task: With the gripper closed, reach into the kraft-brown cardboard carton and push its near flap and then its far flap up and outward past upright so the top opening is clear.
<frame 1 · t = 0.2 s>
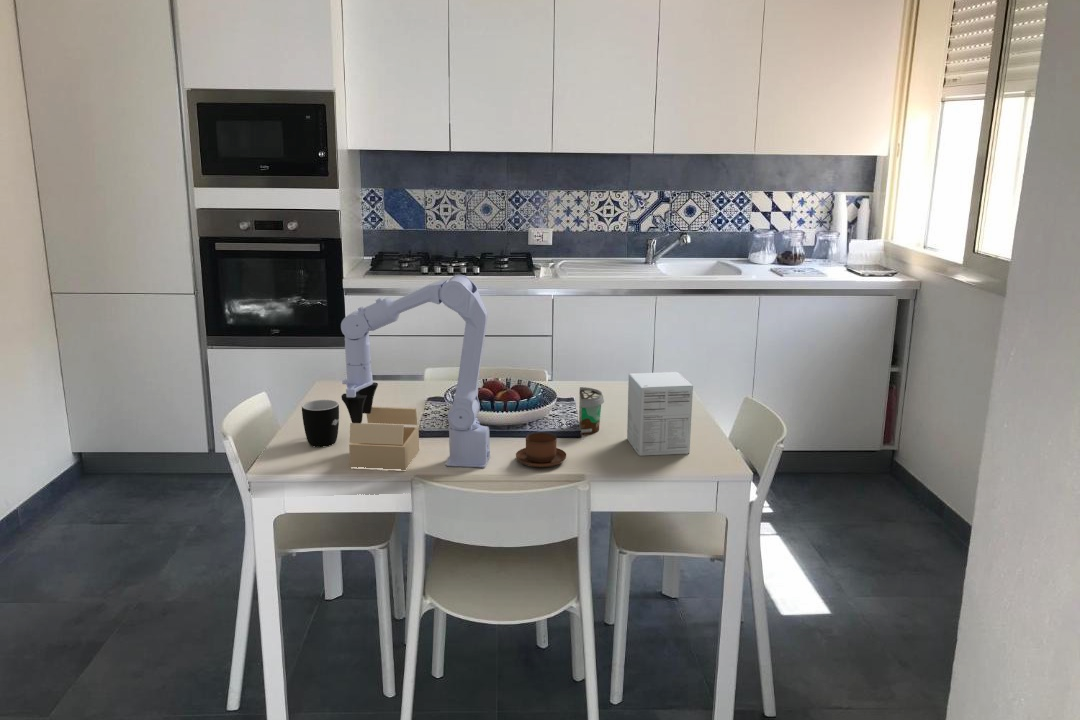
hand: (361, 418, 214), 10 cm above the table, tool pointing down, fingers open, 7 cm apart
mug: (323, 442, 228), on the table
near flap: (376, 433, 207), point 9 cm above the table, hinge at 75.0°
far flap: (391, 415, 220), point 9 cm above the table, hinge at 75.0°
food container: (591, 430, 238), on the table
supplement box: (657, 447, 226), on the table
cup and saucer: (541, 462, 215), on the table
carton: (385, 459, 215), on the table
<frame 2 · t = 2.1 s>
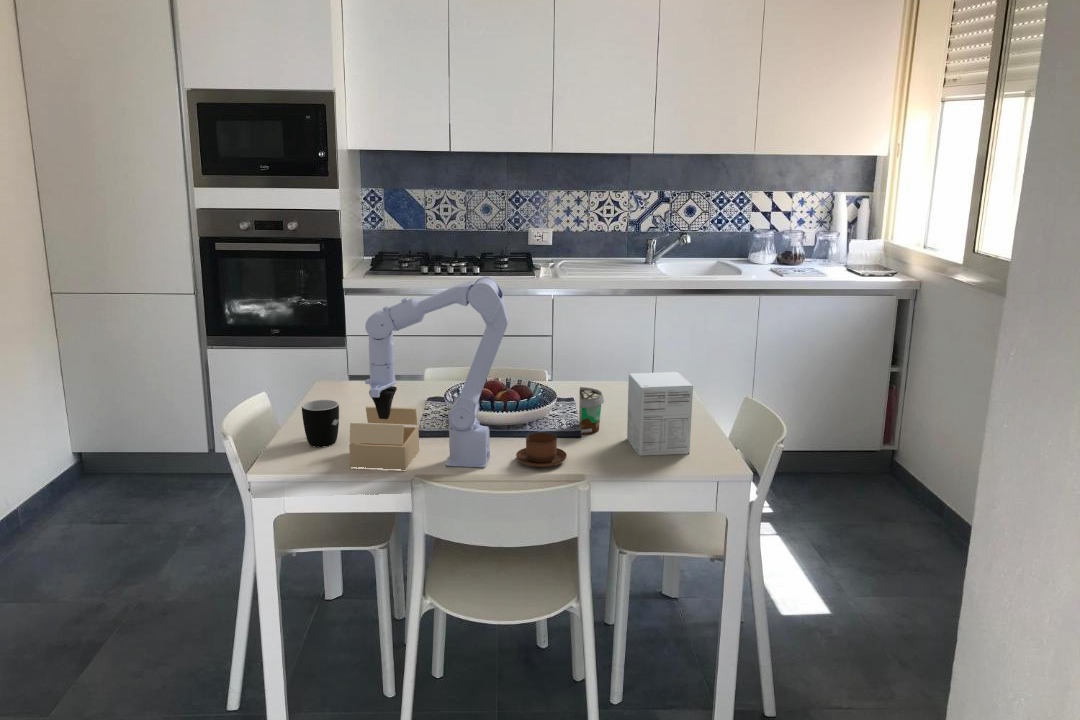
hand: (384, 418, 213), 10 cm above the table, tool pointing down, fingers closed
nothing on the table moved.
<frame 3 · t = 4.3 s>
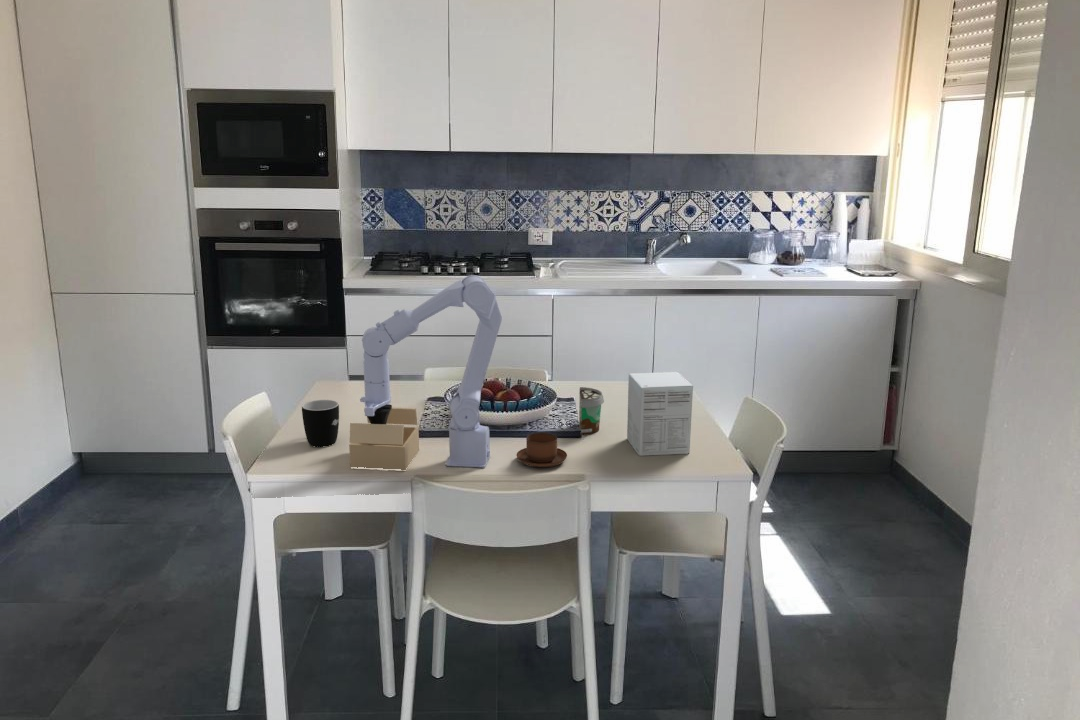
hand: (379, 436, 209), 7 cm above the table, tool pointing down, fingers closed
near flap: (376, 433, 207), point 9 cm above the table, hinge at 75.1°, touching gripper
everything else where it was.
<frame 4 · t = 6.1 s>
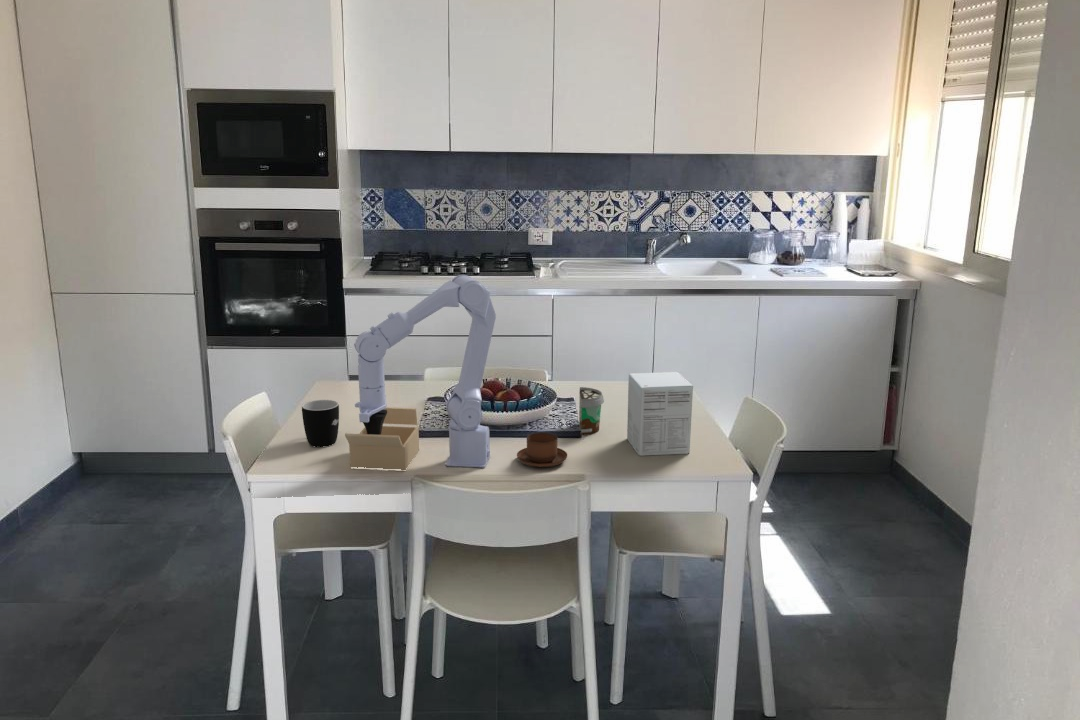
hand: (374, 442, 206), 7 cm above the table, tool pointing down, fingers closed, pressing on near flap
near flap: (373, 440, 205), point 8 cm above the table, hinge at 131.8°, touching gripper
everything else where it was.
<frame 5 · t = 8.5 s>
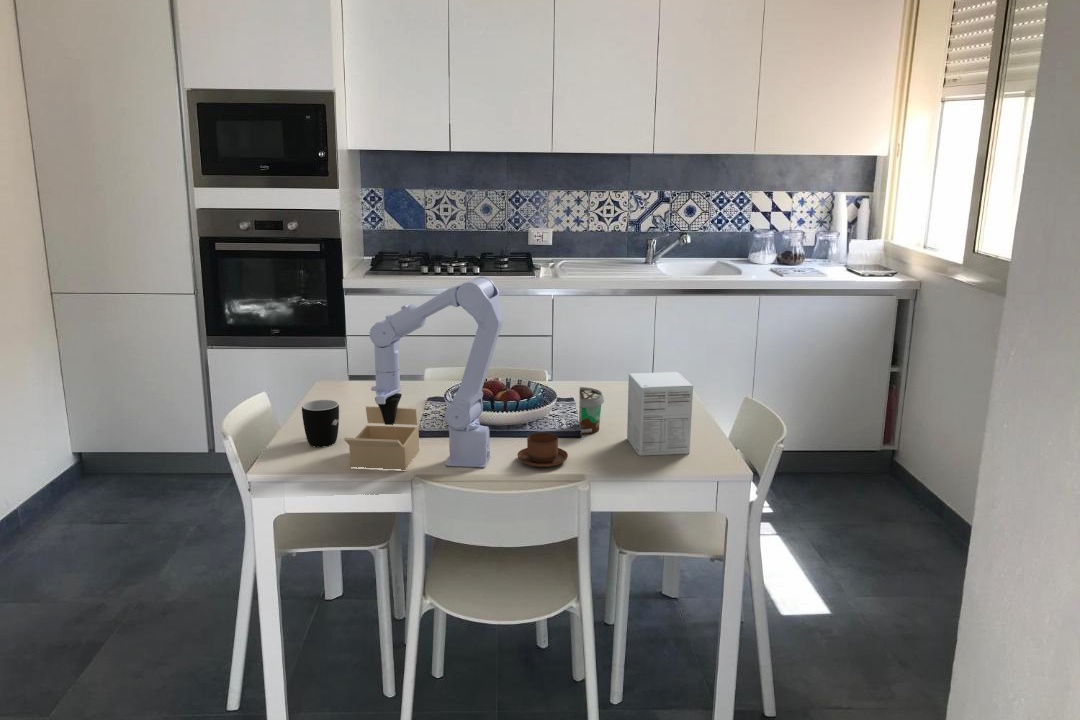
hand: (389, 424, 218), 7 cm above the table, tool pointing down, fingers closed
near flap: (373, 442, 205), point 8 cm above the table, hinge at 144.5°
far flap: (391, 415, 220), point 9 cm above the table, hinge at 75.1°, touching gripper
everything else where it was.
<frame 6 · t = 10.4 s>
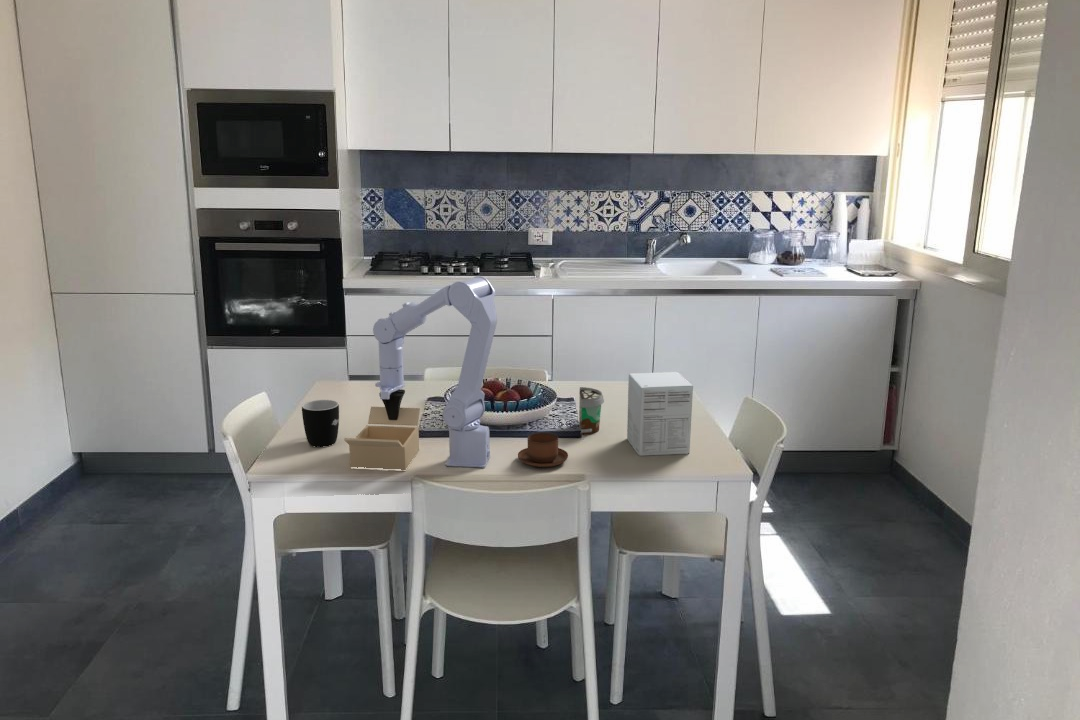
hand: (393, 419, 222), 7 cm above the table, tool pointing down, fingers closed, pressing on far flap
near flap: (373, 442, 205), point 8 cm above the table, hinge at 145.1°
far flap: (394, 416, 222), point 8 cm above the table, hinge at 133.6°, touching gripper
everything else where it was.
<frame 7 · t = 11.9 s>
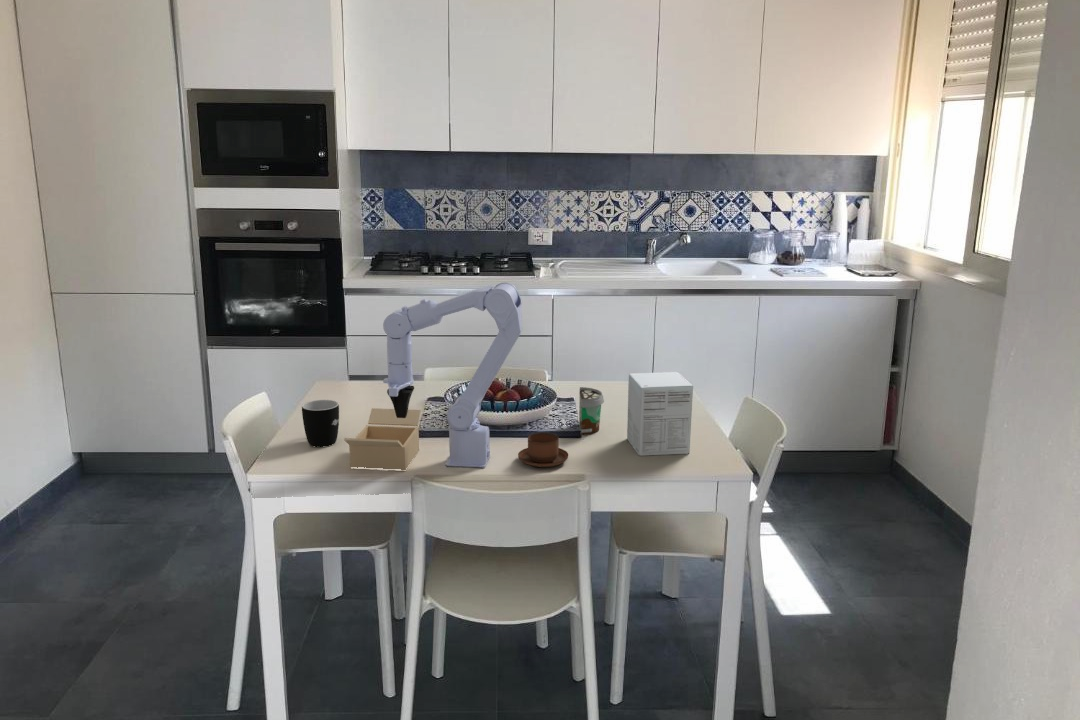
hand: (401, 417, 214), 10 cm above the table, tool pointing down, fingers closed
far flap: (394, 417, 223), point 8 cm above the table, hinge at 143.9°
everything else where it was.
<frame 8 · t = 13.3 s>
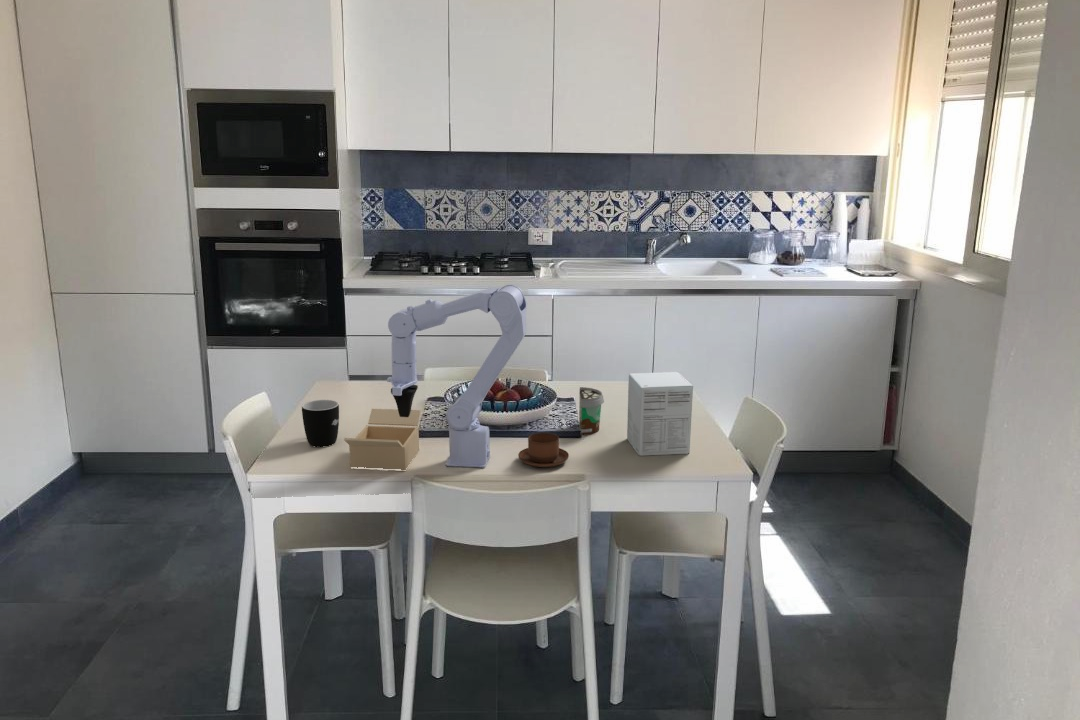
hand: (404, 416, 214), 10 cm above the table, tool pointing down, fingers closed
far flap: (394, 417, 223), point 8 cm above the table, hinge at 145.5°
everything else where it was.
at the end: near flap at +145° (first picture: +75°); far flap at +146° (first picture: +75°) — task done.
